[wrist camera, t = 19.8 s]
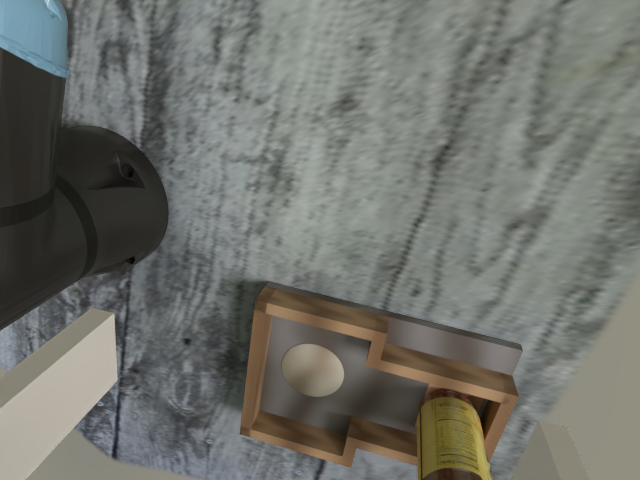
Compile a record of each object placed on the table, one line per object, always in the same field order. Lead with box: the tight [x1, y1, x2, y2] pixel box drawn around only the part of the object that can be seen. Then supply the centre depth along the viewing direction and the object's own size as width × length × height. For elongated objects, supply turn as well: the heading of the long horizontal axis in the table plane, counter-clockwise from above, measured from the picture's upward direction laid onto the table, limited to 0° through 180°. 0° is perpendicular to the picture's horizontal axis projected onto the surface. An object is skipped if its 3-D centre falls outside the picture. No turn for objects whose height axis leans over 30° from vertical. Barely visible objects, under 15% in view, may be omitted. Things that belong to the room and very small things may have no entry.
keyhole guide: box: [240, 282, 523, 467], centre depth 45 cm, size 26×18×4 cm
